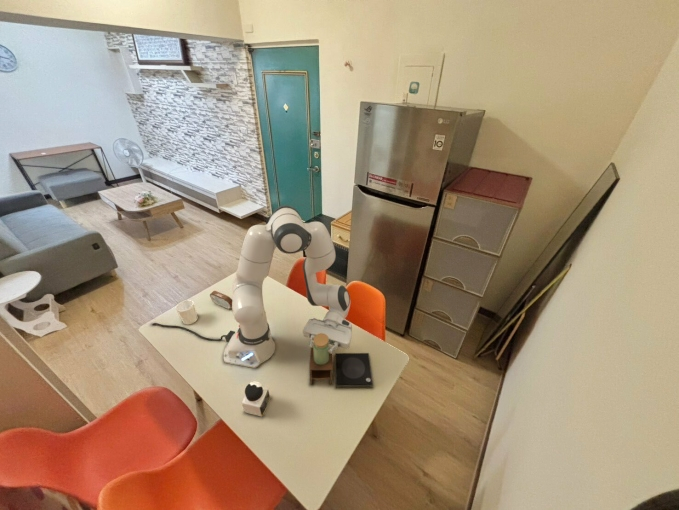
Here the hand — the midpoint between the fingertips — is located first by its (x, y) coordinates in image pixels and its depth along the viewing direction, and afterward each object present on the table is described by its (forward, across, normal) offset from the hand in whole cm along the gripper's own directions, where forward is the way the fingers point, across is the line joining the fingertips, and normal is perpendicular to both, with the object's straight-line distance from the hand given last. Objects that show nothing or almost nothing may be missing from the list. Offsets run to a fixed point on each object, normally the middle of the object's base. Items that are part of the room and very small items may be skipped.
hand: (320, 349), depth 102 cm
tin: (-20, -65, +17) cm, 70 cm away
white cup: (-6, -74, +18) cm, 76 cm away
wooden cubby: (-1, 0, +17) cm, 17 cm away
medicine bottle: (+20, -18, +18) cm, 32 cm away
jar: (-1, 0, +6) cm, 6 cm away
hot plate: (-6, +12, +17) cm, 22 cm away
